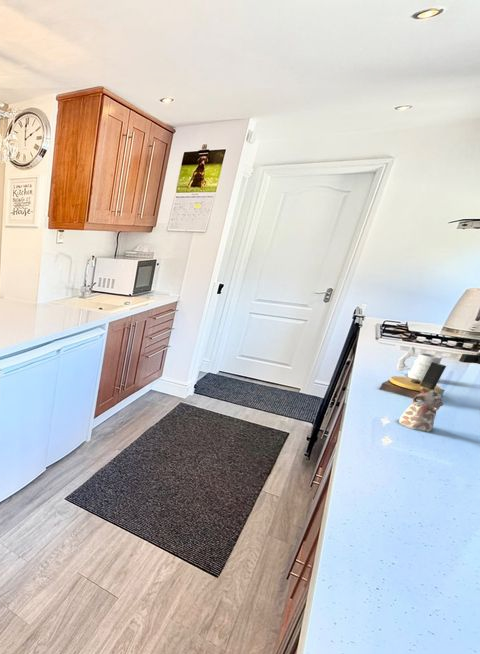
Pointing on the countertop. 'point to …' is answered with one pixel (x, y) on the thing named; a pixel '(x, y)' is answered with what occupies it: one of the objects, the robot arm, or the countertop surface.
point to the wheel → (427, 382)
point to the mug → (417, 363)
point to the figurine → (422, 411)
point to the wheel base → (403, 390)
